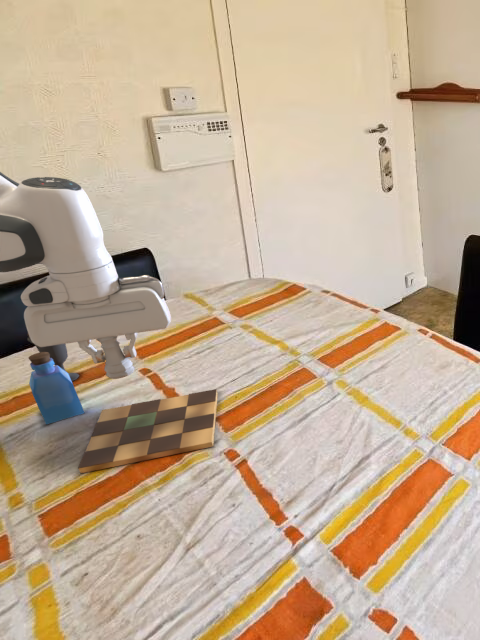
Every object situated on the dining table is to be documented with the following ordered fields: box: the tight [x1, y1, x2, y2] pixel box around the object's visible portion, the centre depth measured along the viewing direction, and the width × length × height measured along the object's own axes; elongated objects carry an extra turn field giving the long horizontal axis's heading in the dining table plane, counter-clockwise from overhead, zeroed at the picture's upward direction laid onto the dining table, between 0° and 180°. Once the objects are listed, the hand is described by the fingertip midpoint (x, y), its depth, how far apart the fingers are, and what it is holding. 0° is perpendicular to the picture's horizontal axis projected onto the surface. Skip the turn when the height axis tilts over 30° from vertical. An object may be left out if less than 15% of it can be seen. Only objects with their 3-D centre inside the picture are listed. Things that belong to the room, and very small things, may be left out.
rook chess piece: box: [95, 336, 136, 380], centre depth 106 cm, size 4×4×8 cm
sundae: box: [26, 333, 80, 382], centre depth 127 cm, size 7×7×15 cm
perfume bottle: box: [28, 352, 85, 426], centre depth 116 cm, size 6×6×12 cm
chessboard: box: [77, 388, 219, 474], centre depth 112 cm, size 20×20×1 cm
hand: (115, 359), depth 107 cm, fingers closed on rook chess piece, 3 cm apart
